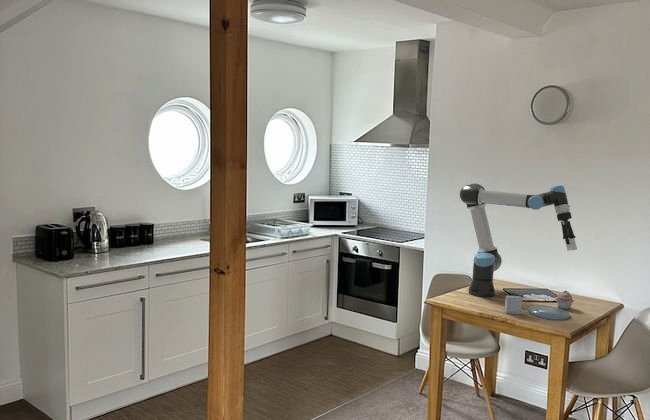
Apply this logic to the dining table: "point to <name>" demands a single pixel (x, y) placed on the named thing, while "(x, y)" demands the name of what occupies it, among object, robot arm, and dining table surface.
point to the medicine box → (513, 305)
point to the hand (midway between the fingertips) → (572, 250)
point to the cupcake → (564, 300)
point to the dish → (549, 312)
